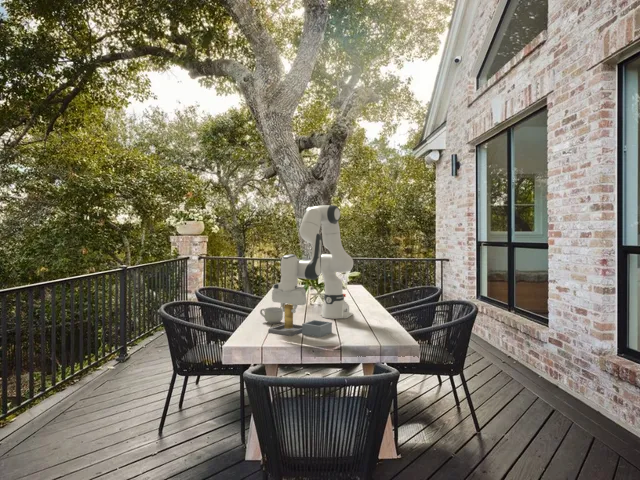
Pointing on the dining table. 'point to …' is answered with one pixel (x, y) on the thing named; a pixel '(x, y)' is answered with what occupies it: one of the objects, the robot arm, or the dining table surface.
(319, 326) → the grey open box
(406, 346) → the dining table surface
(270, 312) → the teacup
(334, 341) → the dining table surface
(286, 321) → the peg
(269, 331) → the tray
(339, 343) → the dining table surface
